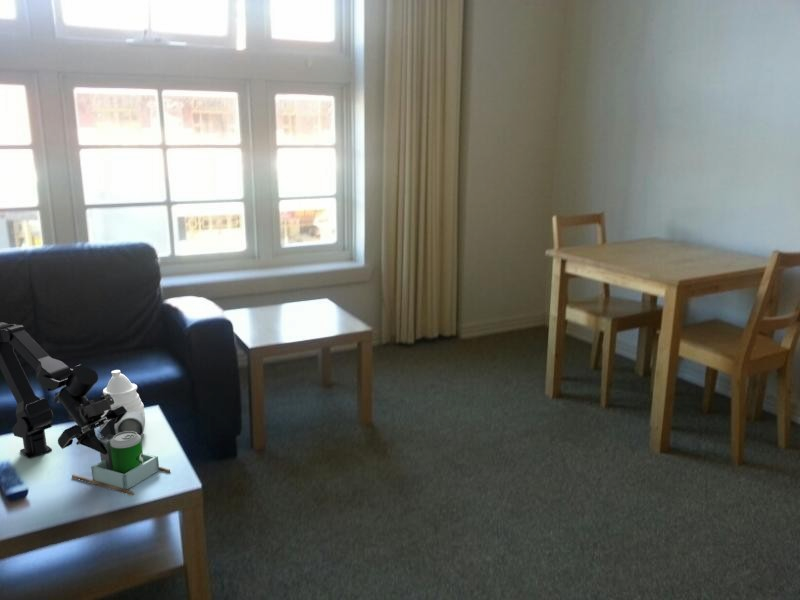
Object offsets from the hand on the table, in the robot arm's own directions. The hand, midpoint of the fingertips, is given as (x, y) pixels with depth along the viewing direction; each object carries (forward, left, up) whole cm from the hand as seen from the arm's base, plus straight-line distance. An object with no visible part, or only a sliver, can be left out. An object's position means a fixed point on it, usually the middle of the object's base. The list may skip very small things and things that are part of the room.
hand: (112, 450), depth 177 cm
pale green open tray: (+4, +1, -6) cm, 7 cm away
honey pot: (-30, +17, -7) cm, 35 cm away
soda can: (+5, +1, -7) cm, 9 cm away
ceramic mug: (-18, +13, -7) cm, 23 cm away
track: (+2, +1, -7) cm, 7 cm away
